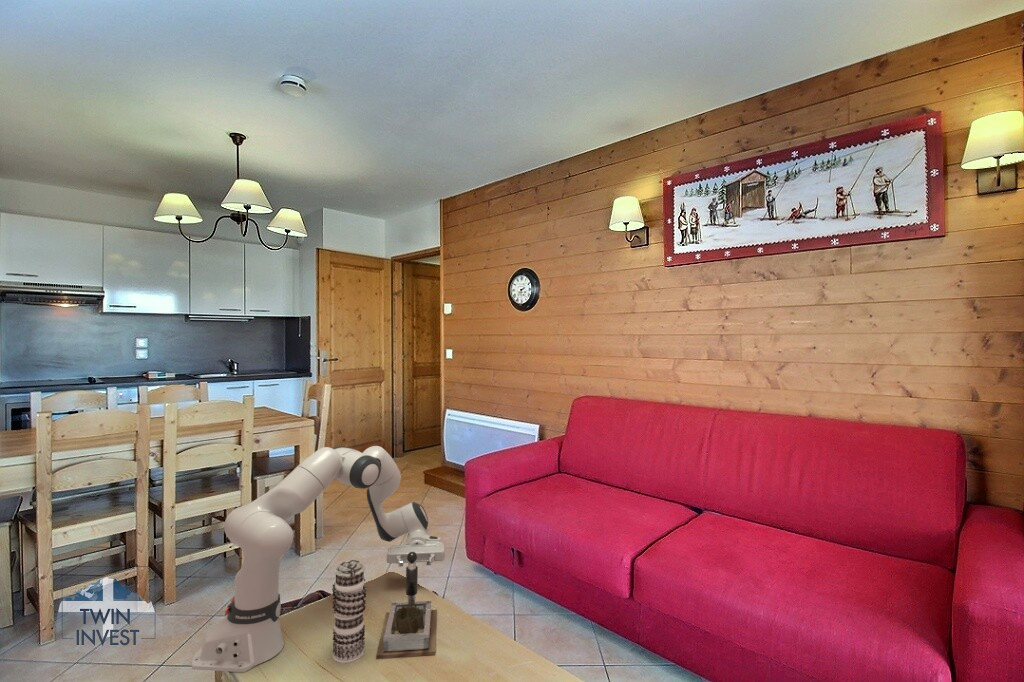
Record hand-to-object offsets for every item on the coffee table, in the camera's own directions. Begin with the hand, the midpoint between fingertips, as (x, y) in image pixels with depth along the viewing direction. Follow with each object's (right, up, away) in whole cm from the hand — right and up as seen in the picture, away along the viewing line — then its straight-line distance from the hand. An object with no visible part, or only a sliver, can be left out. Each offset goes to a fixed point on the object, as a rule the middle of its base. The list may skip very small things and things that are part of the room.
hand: (414, 563), depth 167 cm
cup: (+3, -12, -23) cm, 26 cm away
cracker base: (+2, -12, -20) cm, 24 cm away
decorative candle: (-13, -12, -30) cm, 34 cm away
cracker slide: (+2, -10, -20) cm, 22 cm away
